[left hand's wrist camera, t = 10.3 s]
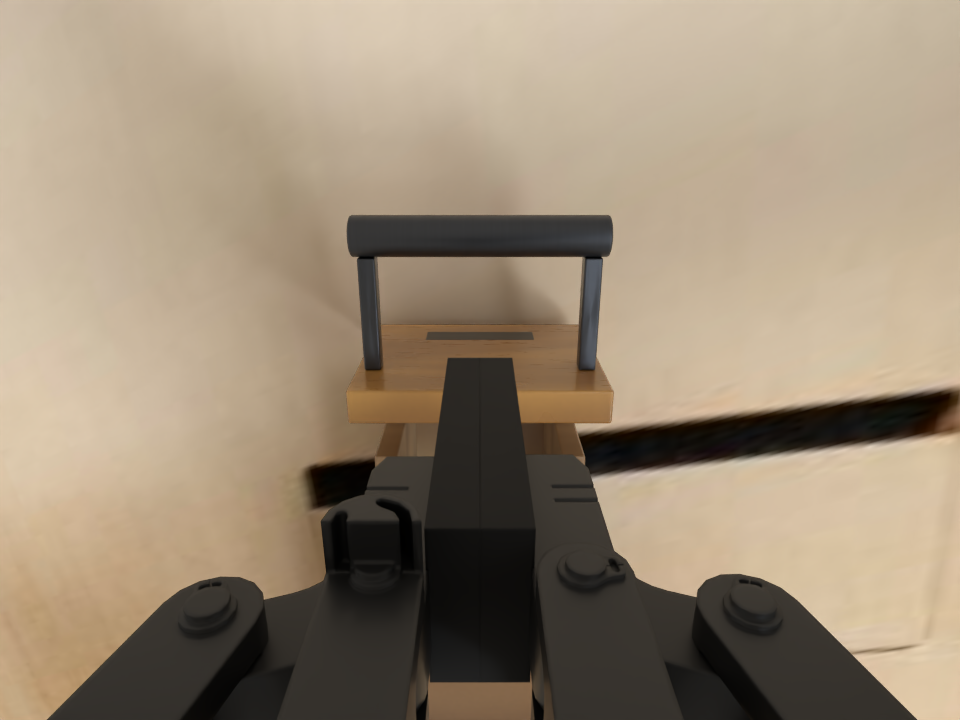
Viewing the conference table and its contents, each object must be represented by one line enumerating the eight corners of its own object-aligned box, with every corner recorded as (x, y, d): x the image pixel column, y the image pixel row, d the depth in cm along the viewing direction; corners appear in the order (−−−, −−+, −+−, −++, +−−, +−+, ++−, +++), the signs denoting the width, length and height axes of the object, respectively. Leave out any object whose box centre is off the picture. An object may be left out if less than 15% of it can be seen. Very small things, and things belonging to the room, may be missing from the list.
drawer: (371, 197, 26) (331, 225, 19) (588, 197, 26) (628, 224, 19) (400, 680, 35) (380, 817, 28) (559, 680, 35) (579, 817, 28)
